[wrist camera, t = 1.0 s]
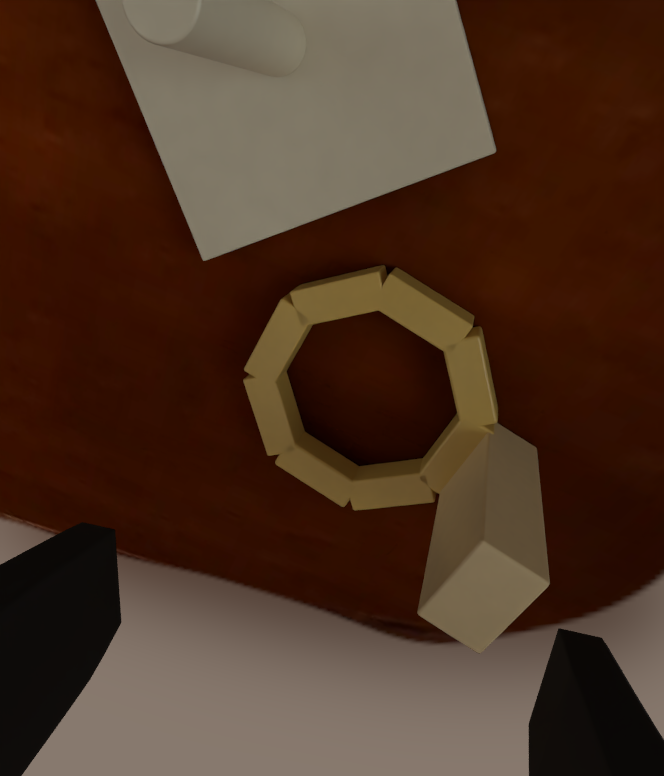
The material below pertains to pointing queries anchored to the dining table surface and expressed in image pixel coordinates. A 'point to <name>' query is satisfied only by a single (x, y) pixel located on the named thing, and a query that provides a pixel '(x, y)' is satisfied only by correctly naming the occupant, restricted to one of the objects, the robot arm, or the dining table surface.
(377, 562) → the dining table surface
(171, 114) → the white peg stand
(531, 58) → the dining table surface
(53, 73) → the dining table surface
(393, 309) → the tan ring with handle
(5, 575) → the robot arm
